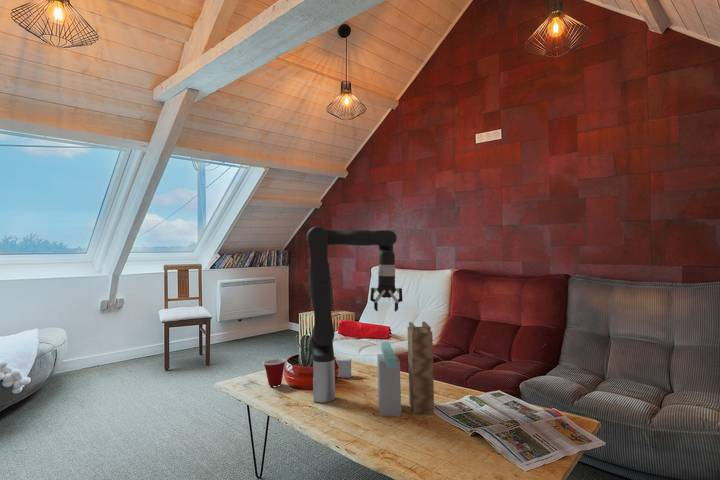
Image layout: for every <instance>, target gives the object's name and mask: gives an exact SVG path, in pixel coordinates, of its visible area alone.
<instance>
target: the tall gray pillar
mask: <svg viewBox="0 0 720 480" xmlns="http://www.w3.org/2000/svg"><path fill="white" fill-rule="evenodd" d="M394 354H395V356H396V367H397V368H387V366H386V363H385V360H384V357H383V354H382V353H378V354H376V355H377V391H378V392H377V393H378V395H377V396H378V398H377V400H378V401H377V402H378V409H379V414H380V417H392V416H393V417H394V416H395V417H397V416H398V417H399V416H402V391H401V387H402V386H401V385H402V384H401V361H400V359H399V356H398V354H397V353H394Z"/></svg>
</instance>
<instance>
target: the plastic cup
mask: <svg viewBox="0 0 720 480" xmlns="http://www.w3.org/2000/svg"><path fill="white" fill-rule="evenodd" d="M286 361H287V360H286V359H284V358H273V359H268V360H264V361H263V362H262V364H263V366H264V368H265V372H266V378H267V383H268V386H269V385H270V386H278V385H280V384H281V383H282V381H283V378H284V377H283V376H284V368H285V364H286V363H285V362H286ZM282 384H283V383H282ZM282 384H281V385H282Z"/></svg>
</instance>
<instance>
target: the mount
mask: <svg viewBox="0 0 720 480" xmlns="http://www.w3.org/2000/svg"><path fill="white" fill-rule="evenodd" d="M421 325H422V326H416V325H415V324H414V323H413V322H412V321H410V322H408V326H407V358H408V359H407V361H408V364H407V365H408V399H409V401H408V402H409V405H410V408H411V410H412V413H413V416H424V415H427V416H428V415H435V397H434V396H435V393H434V387H435V385H434V346H433V345H434V343H433V331H432V330H431V329H432V327H431V326H430V325H429V324H428V323H427V322H426V321H422V322H421Z"/></svg>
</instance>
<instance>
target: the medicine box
mask: <svg viewBox="0 0 720 480" xmlns="http://www.w3.org/2000/svg"><path fill="white" fill-rule="evenodd" d="M336 359H337V362H338V366H339V377H341V378H342V379H343V378H345V379H346V378H351V377H352V358H336Z"/></svg>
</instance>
